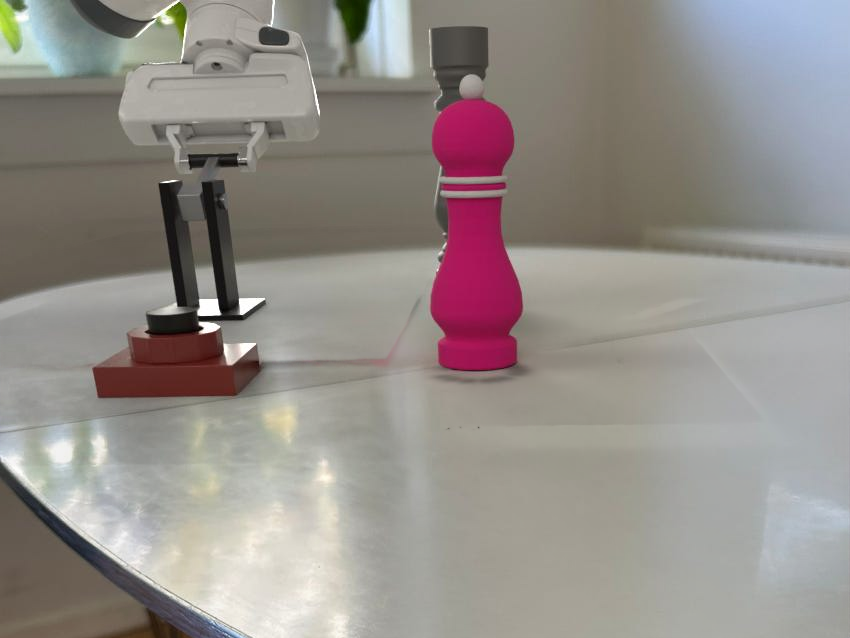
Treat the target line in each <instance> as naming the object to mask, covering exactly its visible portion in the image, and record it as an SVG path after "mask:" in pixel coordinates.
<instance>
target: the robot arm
mask: <svg viewBox="0 0 850 638" xmlns="http://www.w3.org/2000/svg"><path fill="white" fill-rule="evenodd" d="M69 2H70V3H71V5H72V7H73V8H74V10H75V11H76V12H77V13H78V15H79V16H80V17H81V18H82V20H84V21H85V22H86V23H87V24H89V25H90V26H91V27H93V28H95V29H97V30H98V31H101V32H102V33H105V34H108V35H110V36H113V37H117V38H121V39H125V40H131V39H135V38H137V37H139V36H140V35H141V34H142V33H143V32H144V31H145V30H146V29H147V28H148V27H150V26H151V25H152V24H153V23H154V22H155V21H156V20H158V18H159V17H160V16H161V14H163V13H164V12H166V11H167V10H169V9H170V8H172V6H173V7H174V5H176V4H178V2H179V3H180V4H181V5H182V6H183V7H184V9H185V11H186V21H185V27H184V36H183V45H182V53H181V60H180V61H169V62H168V61H167V62H161V63H154V62H145V63H141V64H140V67H137V68H134V69H133V70H130V71H128V72H127V74H126V75H125V76H126V77H125V82H124V89H123V93H122V96H121V99H120V103H119V107H118V113H117V115H118V120H119V123H120V126H121V128H122V130H123V131H124V133H125V135H126V137H127V138H128V139H129V141H130V142H131V143H132V144H133V145H134V146H137V147H138V146H139V147H144V146H145V147H147V146H170V148H171V150H172V152H173V154H174V158H173V164H174V167H175V169H176V171H177V173H178V174H179V175H187V174H188V175H189V174H194V173H195V170H194V169H195V168H191V166H190V161H189V156H190V154H192V151H191V148H190V147H189V148H188V147H187V145H215V144H246V146H238V147H237V153H238V154H239V155H238V156H237V161H238V165H239V167H238V168H239V170H240V172H241V173H256V172H257V163H258V160H260V159H261V157H262V156H263V155H264V154H265V152H267V150H268V149H269V148H270V143H282V142H285V143H286V142H310V141H313V140H314V139H315V138H316V137H318V135H319V134H320V131H321V115H320V108H319V102H318V98H317V93H316V92H317V91H316V88H315V84H314V80H313V76H312V71H311V66H310V62H309V57H308V54H307V51H306V48H305V45H304V42H303V39H302V37H301V35H300V34H299V33H298V32H295V31H292V30H288V29H283V28H279V27H276V26H272V25H273V21H274V12H275V10H274V8H275V0H69Z"/></svg>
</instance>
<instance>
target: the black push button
mask: <svg viewBox="0 0 850 638" xmlns="http://www.w3.org/2000/svg"><path fill="white" fill-rule="evenodd" d="M166 307H167V306H166ZM166 307H159V308H158V307H157V308H153V309H149V310H147V311H145V317H146V323H147V324H146V325H147V326H148V330H149V334H151V335H177V334H186V333H193V332H197V331H200V328H199V322H200V321H198V314H197V309H196V308H192V307H167V308H166Z"/></svg>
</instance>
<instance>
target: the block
mask: <svg viewBox="0 0 850 638" xmlns="http://www.w3.org/2000/svg"><path fill="white" fill-rule="evenodd" d="M199 328H200V331H197V332H193V333H186V334H177V335H151V334H149V330H148V325H145V326H139V327H136V328H135V327H134V328H133V329H131V330H129V331H127V332H126V337H127V338H126V339H127V344H128V346H127V347H125V348H124V349H121V350H120V351H119V352H117V353H115V354H113V355H111V356H110V357H108V358H106V359H105V360H103V361H102V362H99V363H98V364H96V365H94V366H93V367H92V368H91V369H92V374H93V375H92V376H93V380H94V384H95V389H96V395H97V398H98V399H125V398H128V399H129V398H130V399H133V398H135V399H137V398H184V397H185V398H188V397H189V398H190V397H191V398H193V397H236V396H237V395H238V394H240V393H241V391H242V390H244V388H246V387H247V385H248V384H250V382H252V380H254V378H255V377H256V376H258V375H259V374H260V373H261V366H260V355H259V349H258V343H256V342H255V343H254V342H253V343H252V342H251V343H247V342H246V343H224V339H223V338H224V337H223V330H222V326H221V325H218V324H216V323H214V322H206V321H199Z"/></svg>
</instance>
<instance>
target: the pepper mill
mask: <svg viewBox="0 0 850 638" xmlns="http://www.w3.org/2000/svg"><path fill="white" fill-rule="evenodd" d="M459 91H460V94H461V96H462V98H463V99H464V100H462V101H458V102H455V103H453V104H451V105H449V106H448V107H446V108H445V109H444V110H443V111H442V112H441V113H440V112H439V114H438V115H437V117H436V119H435V121H434V124H433V126H432V130H431V150H432V153H433V156H434V157H435V159H436V160H437V162H438V163H439V165H441V166H442V167H443V169H444V172H445V176H442V177H441V178H440V182H441V183H442V184H443V185H442V187H441V188H442V191H441V192H440V195H441V196H442V197H446V202H447V209H448V216H449V222H448V239H447V245H446V250H445V253H444V256H443V259H442V262H441V263H440V264H439V267H438V269H439V270H438V272H437V275H436V274H435V277H434V280H433V283H432V287H431V292H430V304H429V305H430V306H429V310H430V316H431V318H432V319H433V321H434V323H436V324H437V326H438V327H439V328H440V329H441V330H442V332H443V333H444V336H443V337H441V338H439V340H438V341H437V355H438V357H437V359H438V363H439V365H440V366H441V367H443V368H447V369H450V370H455V371H490V370H491V371H493V370H498V369H504V368H505V369H506V368H508V367H511V366H513V365H514V364H516V362H517V361H518V340H517V338H516V337H514V336H513V335H510V333H511V331H512V330H513V328H514V327H515V325H516V324H517V322H518V321H519V320H520V318H521V316H522V315H523V311H524V303H523V301H524V300H523V292H522V288H521V285H520V281H519V278H518V276H517V273H516V271H515V269H514V267H513V264H512V261H511V260H510V257H509V255H508V252H507V249H506V247H505V242H504V237H503V234H502V217H501V216H502V206H503V197H505V196H507V195H508V194H509V190H508V189H507V183H506V182H508V181H509V180H508V179H509V178H508V175H506V174H503V171H504V168H505V166H506V164H507V163H508V161H510V158H511V157H512V155H513V154H514V150H515V134H514V128H513V124H512V122H511V121H512V120H510V118H509V116H508V114H507V113H506V111H504V110H503V109H502V108H501V107H500V106H499V105H497V104H495V103H493V102H491V101H488V100H486V101H484V100H480V99H481V97H484V96H483V95H484V93H485V84H484V80H483V81H482V80H481V79H480V77H478V76H477V75H474V74H470V75H467V76H465V77H464V78H463V79H462V81H461V83H460V87H459Z"/></svg>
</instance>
